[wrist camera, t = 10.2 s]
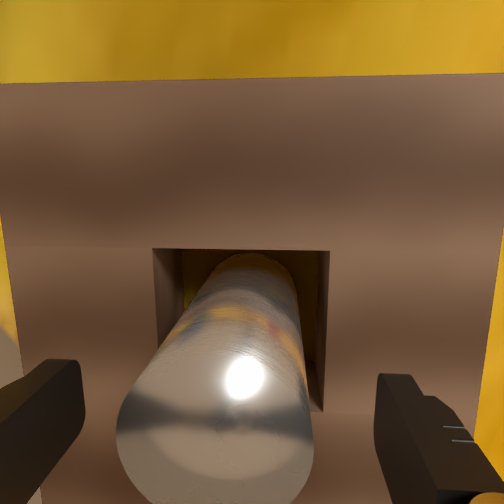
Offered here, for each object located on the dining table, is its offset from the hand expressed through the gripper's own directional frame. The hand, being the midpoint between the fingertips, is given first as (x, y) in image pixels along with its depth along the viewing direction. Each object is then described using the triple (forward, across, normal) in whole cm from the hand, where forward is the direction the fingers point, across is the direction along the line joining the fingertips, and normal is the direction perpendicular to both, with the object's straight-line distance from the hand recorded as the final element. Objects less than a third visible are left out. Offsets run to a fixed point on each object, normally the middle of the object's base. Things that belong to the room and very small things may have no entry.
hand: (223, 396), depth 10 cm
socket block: (+8, 0, 0) cm, 8 cm away
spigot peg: (+8, 0, 0) cm, 8 cm away
